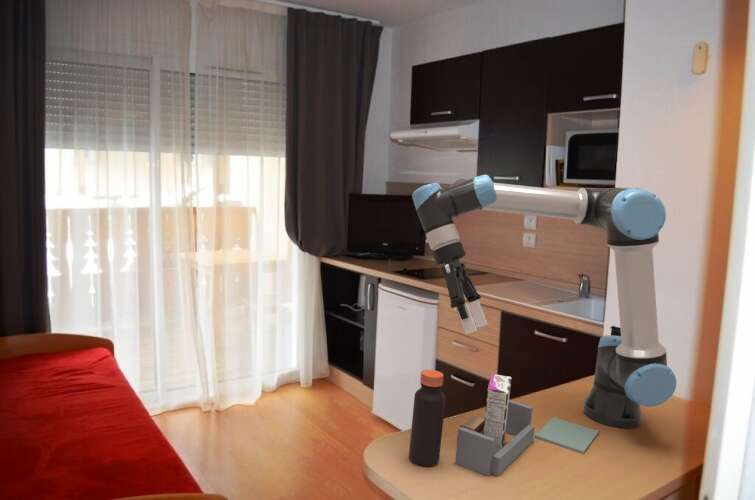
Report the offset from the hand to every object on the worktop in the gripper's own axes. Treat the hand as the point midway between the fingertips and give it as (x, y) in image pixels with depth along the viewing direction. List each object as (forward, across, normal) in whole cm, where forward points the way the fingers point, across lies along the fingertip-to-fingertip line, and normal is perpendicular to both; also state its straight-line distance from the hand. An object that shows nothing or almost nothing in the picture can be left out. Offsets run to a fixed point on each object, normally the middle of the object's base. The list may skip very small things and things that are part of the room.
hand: (477, 329), depth 133 cm
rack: (+28, -2, -6) cm, 29 cm away
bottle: (+23, +12, -19) cm, 32 cm away
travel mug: (+35, -64, +21) cm, 76 cm away
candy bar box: (+28, -2, -7) cm, 29 cm away
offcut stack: (+25, -3, -12) cm, 28 cm away
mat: (+33, -19, +8) cm, 39 cm away
